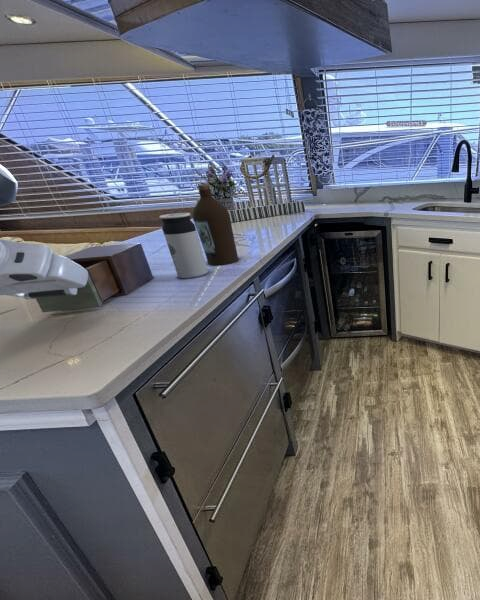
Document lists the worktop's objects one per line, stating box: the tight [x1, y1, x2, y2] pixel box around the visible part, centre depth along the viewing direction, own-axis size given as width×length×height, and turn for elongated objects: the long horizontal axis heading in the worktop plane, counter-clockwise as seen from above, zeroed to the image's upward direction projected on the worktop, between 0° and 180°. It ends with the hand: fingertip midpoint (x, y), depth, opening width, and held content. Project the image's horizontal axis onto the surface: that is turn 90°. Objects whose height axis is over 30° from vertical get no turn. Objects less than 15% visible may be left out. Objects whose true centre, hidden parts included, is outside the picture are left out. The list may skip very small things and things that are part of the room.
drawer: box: [29, 259, 121, 313], centre depth 77 cm, size 18×11×9 cm, turn 12°
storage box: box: [64, 242, 154, 297], centre depth 88 cm, size 15×13×11 cm
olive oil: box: [192, 184, 239, 266], centre depth 106 cm, size 11×11×25 cm
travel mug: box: [159, 212, 209, 279], centre depth 95 cm, size 8×8×18 cm
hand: (54, 294), depth 70 cm, fingers closed on drawer, 6 cm apart
